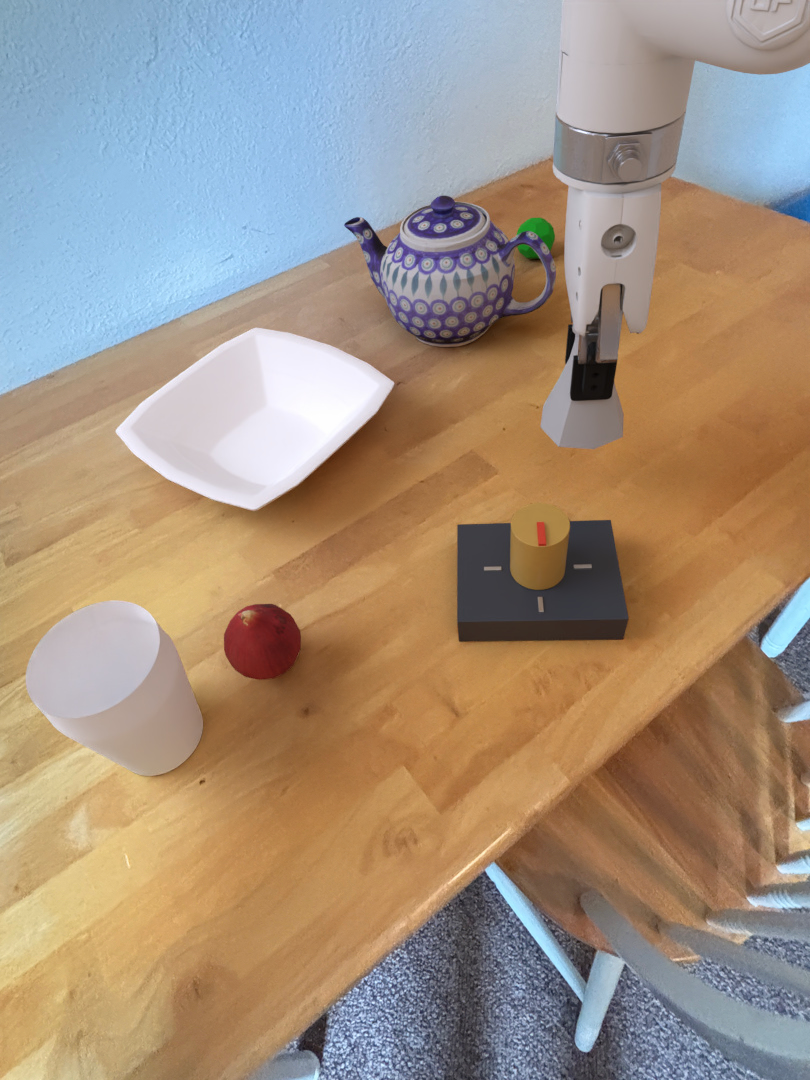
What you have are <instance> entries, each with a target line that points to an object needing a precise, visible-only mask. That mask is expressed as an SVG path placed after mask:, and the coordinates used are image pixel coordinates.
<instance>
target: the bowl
mask: <svg viewBox="0 0 810 1080" xmlns="http://www.w3.org/2000/svg"><path fill="white" fill-rule="evenodd" d="M394 387H395V382H394V380H393V379H390V378H389V377H388V376H386V375H385V374H384V373H383V372H381V371H379V370H378V369H377V368H375V367H374V366H373V365H371V364H370V363H369V362H366V361H364V360H362V359H360V358H358V357H356V356H354V355H352V354H350V353H348V352H345V351H343V350H341V349H340V348H337V347H335V346H333V345H332V344H328V343H324V342H321V341H318V340H315V339H311V338H308V337H304V336H302V335H298V334H294V333H292V332H287V331H281V330H275V329H268V328H262V327H253V328H251V329H250V330H247V331H245V332H243V333H240V334H239V335H237V336H235V337H233V338H231V339H229V340H227V341H224V342H223V343H221V344H220V345H218V346H216V348H214V349H212V350H211V351H209V353H207V354H206V355H204V356H203V357H201V358H200V359H198V360H197V361H195V362H194V363H192V365H190V366H189V367H187V368H186V369H184V370H183V371H182V372H180V373H179V374H178V375H177V376H175V377H173V378H172V379H171V380H170V381H168V382H167V383H165V384H164V385H163V386H162V387H160V388H159V389H158V390H156V391H154V393H151V395H150V396H148V397H146V398H145V399H144V400H143V401H141V402H140V403H139V404H138V406H136V407H135V408H134V409H133V411H132V412H130V414H129V415H128V416H127V417H126V418H125V419H124V420H123V421H122V422H121V423H120V425H118V426H117V428H116V429H115V433H116V435H117V436H118V437H119V438H120V439H121V441H122V442H123V443H124V444H125V445H126V447H127V448H128V449H129V450H130V452H131V453H132V454H133V455H134V456H135V457H137V458H138V460H139V459H140V460H141V461H142V462H143V463H145V464H146V465H147V466H149V467H150V468H151V469H152V470H154V471H155V472H157V473H158V474H159V475H161V476H162V477H163V478H165V479H166V480H167V481H169V482H172V483H174V484H176V485H178V486H181V487H183V488H185V489H186V490H188V491H189V490H190V491H192V492H194V493H196V494H198V495H201V496H202V497H205V498H207V499H210V500H211V501H215V502H218V503H223V504H226V505H229V506H233V507H237V508H241V509H245V510H249V511H251V512H257V511H259V510H261V509H262V508H264V507H266V506H267V505H269V504H270V503H273V502H274V501H275V500H277V499H278V498H280V497H282V496H284V495H285V494H287V493H288V492H291V490H293V489H295V488H296V487H299V485H301V484H302V483H303V482H304V481H305V480H306V479H307V478H308V477H310V475H312V474H313V473H314V472H315V471H316V470H317V469H318V468H320V467H321V466H322V465H323V464H324V463H325V462H326V461H327V460H328V459H329V458H331V456H333V455H334V454H335V453H336V452H337V451H339V450H340V449H341V447H342V446H344V445H345V444H346V443H348V441H349V440H351V438H352V437H353V436H354V435H355V434H356V433H357V432H359V431H360V429H362V428H363V427H364V426H365V425H366V424H367V423H368V422H369V421H370V420H371V419H373V417H374V416H376V415H377V414H378V412H379V410H380V409H381V408H382V406H383V404H384V402H385V401H386V400H387V398H388V396H389V395H390V393H391V392H392V390H393V389H394Z"/></svg>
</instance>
